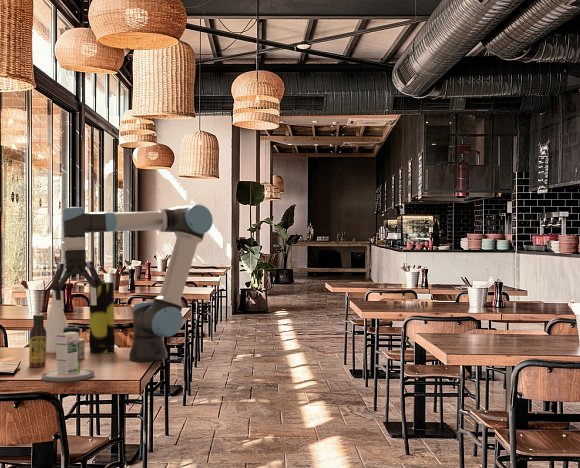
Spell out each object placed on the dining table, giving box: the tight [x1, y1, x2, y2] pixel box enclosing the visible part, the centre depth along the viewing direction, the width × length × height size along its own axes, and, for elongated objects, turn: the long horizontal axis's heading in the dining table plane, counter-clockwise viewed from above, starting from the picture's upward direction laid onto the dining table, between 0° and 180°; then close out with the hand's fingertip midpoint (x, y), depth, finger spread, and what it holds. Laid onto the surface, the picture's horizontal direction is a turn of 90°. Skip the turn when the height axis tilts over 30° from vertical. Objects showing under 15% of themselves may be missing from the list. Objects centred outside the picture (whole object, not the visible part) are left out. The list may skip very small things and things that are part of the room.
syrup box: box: [56, 332, 81, 375], centre depth 270 cm, size 6×6×14 cm
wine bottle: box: [44, 290, 69, 355], centre depth 332 cm, size 10×10×30 cm
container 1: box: [63, 326, 86, 360], centre depth 313 cm, size 8×8×13 cm
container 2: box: [88, 281, 116, 355], centre depth 331 cm, size 11×11×30 cm
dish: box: [41, 369, 95, 383], centre depth 270 cm, size 18×18×1 cm
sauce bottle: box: [28, 314, 47, 368], centre depth 295 cm, size 6×6×20 cm
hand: (77, 307), depth 280 cm, fingers open, 13 cm apart
